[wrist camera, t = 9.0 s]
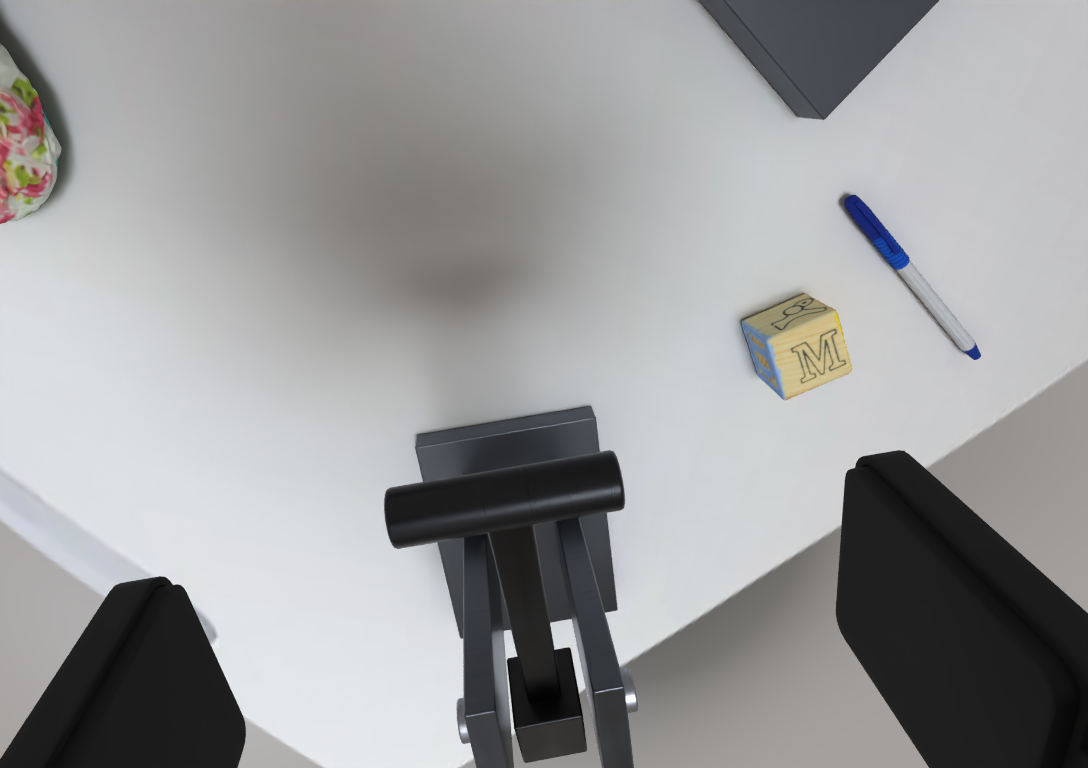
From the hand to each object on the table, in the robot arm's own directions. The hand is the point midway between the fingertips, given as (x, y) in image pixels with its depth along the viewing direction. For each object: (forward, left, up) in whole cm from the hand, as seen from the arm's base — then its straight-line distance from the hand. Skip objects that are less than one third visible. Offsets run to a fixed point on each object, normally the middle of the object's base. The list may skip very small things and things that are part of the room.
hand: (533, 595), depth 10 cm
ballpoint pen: (+15, +12, -21) cm, 28 cm away
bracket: (+10, -9, -21) cm, 24 cm away
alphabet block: (+12, +6, -21) cm, 25 cm away
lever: (+6, -5, -9) cm, 12 cm away
